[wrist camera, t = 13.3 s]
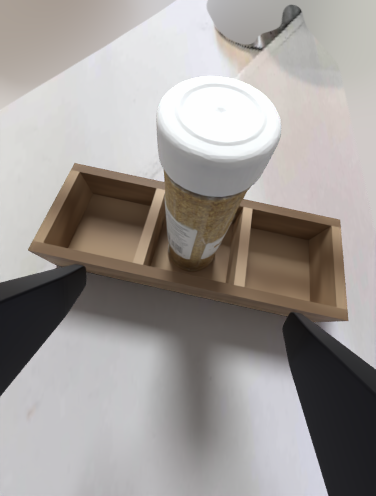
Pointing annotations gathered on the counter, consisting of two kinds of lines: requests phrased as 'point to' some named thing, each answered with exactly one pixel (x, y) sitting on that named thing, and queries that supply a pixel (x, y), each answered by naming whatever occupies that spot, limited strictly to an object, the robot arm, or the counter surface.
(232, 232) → the slot crate
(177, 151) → the sprinkles bottle
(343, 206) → the counter surface
